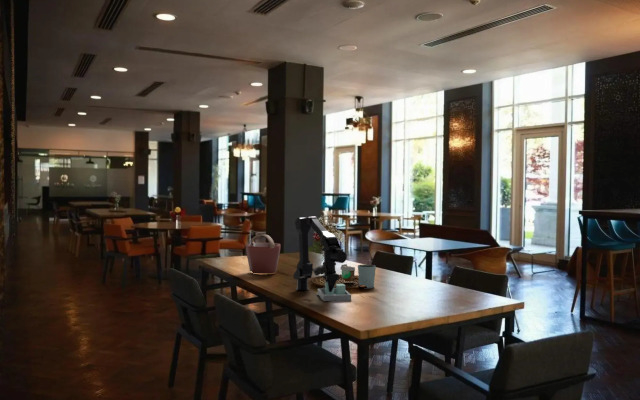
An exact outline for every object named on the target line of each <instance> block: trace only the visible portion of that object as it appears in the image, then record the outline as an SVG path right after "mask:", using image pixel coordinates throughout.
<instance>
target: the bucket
mask: <svg viewBox="0 0 640 400" xmlns="http://www.w3.org/2000/svg"><path fill="white" fill-rule="evenodd" d="M262 236H263V237H265V238H266V239H267V241H268V242H255V241H256V240H258V239H259V238H260V237H262ZM280 252H281V243H275V241H274V240H273V238H272V237H271V236H270V235H268V234H257V235H255V236H254V237H252V239H250V243H247V244H245V253H246V257H247V262H248V268H249V272H250V271H252V272H253V273H273V272H276V273H277V269H278V263H279V259H280Z"/></svg>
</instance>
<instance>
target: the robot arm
mask: <svg viewBox="0 0 640 400" xmlns="http://www.w3.org/2000/svg"><path fill="white" fill-rule="evenodd" d="M294 225H295V230H296V231H297V233H298V243H299V244H298V246H299V249H298V250H299V261H298V263H297V265H296V270H295V271H294V273H293V275H292V276H293V279H294V280H296V281H297V282H296V283H297V284H296V285H297V286H296V287H295V289H296V291H297V290H304V291H309V290H308V289H309V284H308V283H309V281H308V280H309V279H311V278H312V275H313V274H314V276H315V277H318V276H320V275H321V277H322V278H323V279H325V281H324V282H328V287H329V292H332V289H333V287H334V288H335V286H336V284H337V281H339V280H340V275H339V274H338V273H337V271H336V265H337V263H340V264H344V263H345V262H346V261H347V254H346V252H345V251H344V249H343V248H342V247H341V245H340V242H339V240H338V238H337V236H336V235H335V234H334V233H332V232H330V231H328V230H327V229H326V228H325V226H323V225H322V223H321V222H320V220H318V217H317V216H315V215H314V216H306V217H296V220H295V222H294ZM311 229H312V230H313V231H314V232H315V233H316V234H317V235H318V238H319V239H320V243H321V245H322V246H323V248H322V249H321V251H322V252H323V262H322V265H318V266H315V267H314V264H313V263H312V262H311V261H310V260H309V259H310V255H309V253H310V252H309V251H310V250H309V233H310V231H311ZM313 267H314V268H313Z"/></svg>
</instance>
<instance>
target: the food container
mask: <svg viewBox="0 0 640 400" xmlns="http://www.w3.org/2000/svg"><path fill="white" fill-rule="evenodd" d="M340 270H341V280H342V279H343V280H345V281H354V282H355V275H356V274H355V272H356V267H354V266H351V265H350V266H349V265H348V264H347V263H345V264H344V263H343V264H341V265H340Z"/></svg>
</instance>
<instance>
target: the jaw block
mask: <svg viewBox="0 0 640 400" xmlns="http://www.w3.org/2000/svg"><path fill="white" fill-rule="evenodd" d="M334 288H335V286H334V287H333V289H332V292H329V287H328V282H326V281H324V289H325V294H326V295H334Z"/></svg>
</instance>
